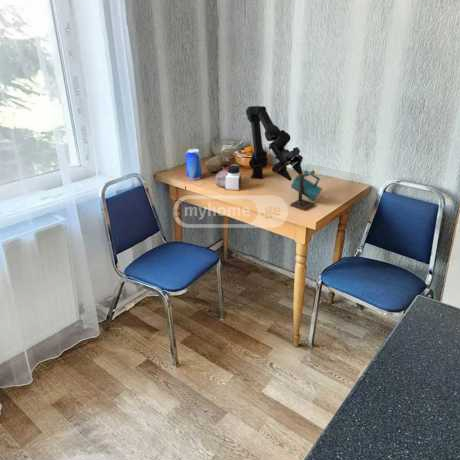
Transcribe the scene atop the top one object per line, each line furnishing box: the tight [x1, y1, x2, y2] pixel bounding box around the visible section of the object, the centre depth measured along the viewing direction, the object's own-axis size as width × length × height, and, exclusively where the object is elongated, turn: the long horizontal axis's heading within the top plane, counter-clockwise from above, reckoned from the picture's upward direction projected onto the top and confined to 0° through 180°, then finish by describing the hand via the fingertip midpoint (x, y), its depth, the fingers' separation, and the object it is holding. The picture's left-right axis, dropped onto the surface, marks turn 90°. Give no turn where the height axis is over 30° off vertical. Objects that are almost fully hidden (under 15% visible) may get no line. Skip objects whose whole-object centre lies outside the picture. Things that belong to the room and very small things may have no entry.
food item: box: [215, 166, 228, 189], centre depth 211 cm, size 14×8×10 cm, turn 156°
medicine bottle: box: [225, 164, 242, 191], centre depth 206 cm, size 7×7×12 cm
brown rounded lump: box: [204, 154, 230, 173], centre depth 236 cm, size 13×8×20 cm
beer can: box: [185, 148, 203, 181], centre depth 219 cm, size 8×8×16 cm
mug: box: [290, 169, 323, 202], centre depth 189 cm, size 12×7×13 cm
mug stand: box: [290, 169, 316, 212], centre depth 186 cm, size 8×16×14 cm, turn 135°
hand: (296, 178), depth 193 cm, fingers open, 9 cm apart
